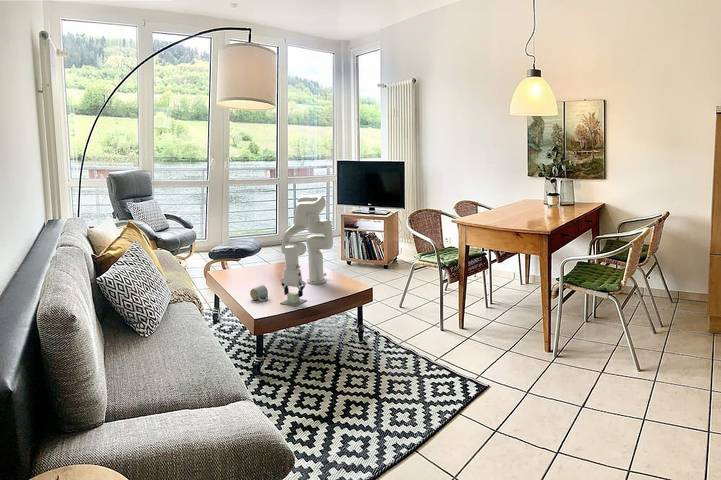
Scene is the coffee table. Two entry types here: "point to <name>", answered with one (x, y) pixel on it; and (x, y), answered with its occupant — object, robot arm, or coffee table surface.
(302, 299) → the coaster
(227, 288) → the coffee table surface
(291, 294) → the cube
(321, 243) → the robot arm
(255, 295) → the ceramic mug
